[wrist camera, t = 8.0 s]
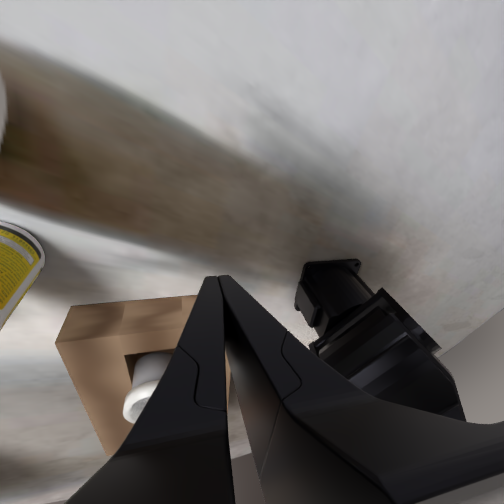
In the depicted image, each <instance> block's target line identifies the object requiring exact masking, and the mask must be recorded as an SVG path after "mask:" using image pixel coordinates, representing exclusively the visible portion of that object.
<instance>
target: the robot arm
mask: <svg viewBox="0 0 504 504" xmlns="http://www.w3.org/2000/svg"><path fill="white" fill-rule="evenodd" d="M360 265H361V262H360V261H359V260H358V259H347V260H332V261H317V262H307V263H306V264H305V265H304V267H303V271H302V275H301V279H300V282H299V283H298V288H297V292H296V296H295V305H294V307H295V309H296V310H297V311H301V312H302V314H303V316H304V318H305V320H306V322H307V323H308V325H309V326H310V327H311V328H313V327H314V328H315V330H316V332H317V334H318V336H319V338H318V339H317V340H316V341H315V342H312V343H310V344H309V348H310V350H309V349H308V348H307V347H306V346H304V345H303V344H302V343H301V342H300V341H299V340H298V339H297V338H295V337H294V336H293V335H292V334H291V333H290V332H289V331H288V332H287V329H286V328H285V327H284V326H283V325H282V324H281V323H279V322H278V321H277V320H276V319H275V318H274V317H273V316H272V315H271V314H270V313H269V312H268V311H267V310H266V309H265V308H264V307H262V306H261V305H260V304H259V303H258V302H257V301H256V300H255V299H254V298H253V297H252V296H251V295H250V294H249V293H248V292H247V291H246V290H244V289H243V288H242V287H241V286H240V285H239V284H238V283H237V282H236V281H235V280H234V279H233V278H232V277H231V276H229V275H221V276H218V277H217V276H207V277H205V279H204V281H203V284H202V286H201V288H200V291H199V293H198V296H197V298H196V300H195V303H194V305H193V307H192V310H191V312H190V314H189V317H188V319H187V322H186V324H185V326H184V329H183V331H182V333H181V336H180V338H179V341H178V343H177V346H176V347H175V350H174V352H173V354H172V357H171V359H170V361H169V363H168V365H167V367H166V370H165V372H164V373H163V375H162V377H161V379H160V381H159V383H158V384H157V386H156V388H155V390H154V391H153V393H152V395H151V396H150V398H149V400H148V402H147V403H146V405H145V407H144V408H143V410H142V412H141V413H140V415H139V417H138V418H137V420H136V422H135V423H134V425H133V427H132V429H131V430H130V432H129V433H128V435H127V437H126V438H125V440H124V441H123V443H122V444H121V446H120V447H119V448H118V450H117V451H116V452H115V454H114V455H113V456H112V457H111V458H110V459H109V461H108V462H107V463H106V464H105V465H104V466H103V467H102V468H100V469H99V470H98V471H97V472H96V473H95V474H94V475H93V476H92V477H91V478H90V479H89V480H88V481H87V482H86V483H85V484H84V485H83V486H82V487H81V488H80V489H79V490H78V491H77V492H76V493H75V494H74V495H73V496H71V497H70V498H69V499H68V500H67V502H65V503H64V504H235V495H234V485H233V476H232V467H231V457H230V448H229V438H228V421H227V391H226V360H225V351H226V355H227V359H228V363H229V366H230V370H231V374H232V378H233V382H234V385H235V389H236V393H237V397H238V401H239V405H240V408H241V412H242V416H243V420H244V424H245V427H246V431H247V435H248V439H249V443H250V446H251V450H252V454H253V458H254V462H255V465H256V469H257V473H258V477H259V479H260V485H261V489H262V493H263V496H264V500H265V504H504V421H502V422H499V423H494V424H476V423H469V422H466V419H465V415H464V412H463V408H462V405H461V402H460V399H459V395H458V391H457V388H456V385H455V381H454V378H453V376H452V374H451V372H450V371H449V370H448V369H447V368H446V367H445V366H444V365H443V364H442V363H441V362H440V360H439V359H438V358H437V357H436V356H435V355H434V354H435V353H436V352H437V351H439V350H440V349H442V348H441V347H440V346H439V345H438V344H437V343H436V342H435V341H434V340H433V339H432V338H431V337H430V336H429V335H428V334H427V333H426V332H425V331H424V330H423V329H422V328H421V326H420V325H419V324H418V323H417V322H416V321H415V320H414V319H413V318H412V317H411V316H410V315H409V314H408V313H407V312H406V311H405V310H404V309H403V308H402V307H401V306H400V305H399V304H398V303H397V302H396V301H395V300H394V299H393V298H392V297H391V296H390V295H389V294H388V293H387V292H386V291H385V290H384V289H383V288H381V289H379V290H378V292H377V293H376V294H374V293H373V292H372V290H371V289H370V288H369V287H368V286H367V285H366V284H365V283H364V282H363V281H362V279H361V278H360V277H359V276H358V275H357V273H358V271H359V268H360ZM309 266H310V267H309ZM308 267H309V268H308Z"/></svg>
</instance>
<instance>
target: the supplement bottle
mask: <svg viewBox="0 0 504 504" xmlns="http://www.w3.org/2000/svg"><path fill="white" fill-rule="evenodd" d="M44 264H45V254H44V251H43V249H42V247H41V245H40V244H39V242H38V241H37V240H36V239H35V238H34V237H33V236H32V235H30V234H29V233H28V232H26V231H25V230H23V229H21V228H19V227H17V226H14V225H12V224H8V223H5V222H0V330H1V329H2V327H3V326H4V324H5V323H6V321H7V320H8V319H9V317H10V315H11V314H12V313H13V311H14V310H15V308H16V307H17V306H18V304H19V303H20V301H21V300H22V298H23V297H24V295H25V294H26V292H27V291H28V290H29V288H30V287H31V285H32V284H33V283H34V281H35V280H36V278H37V277H38V275H39V274H40V272H41V271H42V269H43V267H44Z"/></svg>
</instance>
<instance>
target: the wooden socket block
mask: <svg viewBox="0 0 504 504" xmlns="http://www.w3.org/2000/svg"><path fill="white" fill-rule="evenodd" d="M197 296H198V295H191V296H180V297H168V298H157V299H146V300H135V301H124V302H113V303H102V304H91V305H80V306H71V308H70V310H69V312H68V314H67V317H66V319H65V321H64V323H63V326H62V328H61V330H60V332H59V335H58V337H57V339H56V341H55V345H56V347H57V349H58V351H59V353H60V355H61V358H62V360H63V362H64V364H65V366H66V368H67V371H68V373H69V375H70V377H71V379H72V381H73V384H74V386H75V388H76V390H77V392H78V394H79V397H80V399H81V401H82V403H83V405H84V407H85V410H86V412H87V414H88V416H89V418H90V420H91V423H92V425H93V427H94V429H95V431H96V433H97V436H98V438H99V440H100V442H101V444H102V446H103V449H104V451H105V453H106V455H107V456H109V455H114V454H115V452H116V451H117V450H118V448H119V447H120V446H121V444H122V443H123V441H124V440H125V438H126V437H127V435H128V433H129V432H130V430H131V429H132V427H133V425H134V423H131V422H129V421H127V420H126V419H125V418H124V416H123V408H124V402H125V397H126V395H127V393H128V392H129V391H130V390H131V389H132V382H133V375H134V368H135V364H136V362H137V361H138V360H139V359H140V358H141V357H143V356H145V355H147V354H150V353H155V352H166V353H170V354H173V352H174V350H175V347H176V346H177V343H178V341H179V338H180V336H181V333H182V331H183V329H184V326H185V324H186V322H187V319H188V317H189V314H190V312H191V310H192V307H193V305H194V303H195V300H196V298H197ZM225 360H226V391H227V411H228V399H229V386H230V373H231V370H230V366H229V363H228V359H227V355H226V351H225Z"/></svg>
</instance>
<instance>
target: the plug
mask: <svg viewBox="0 0 504 504" xmlns="http://www.w3.org/2000/svg"><path fill="white" fill-rule="evenodd" d="M171 357H172V354H170V353H166V352H155V353H150V354H147V355H145V356H143V357H141V358H140V359H139V360H138V361H137V362H136V364H135V368H134V375H133V382H132V389H131V390H130V391H129V392H128V393H127V395H126V397H125V402H124V408H123V416H124V418H125V419H126V420H127V421H129V422H131V423H135V422H136V420H137V418H138V417H139V415H140V413H141V412H142V410H143V408H144V407H145V405H146V403H147V402H148V400H149V398H150V396H151V395H152V393H153V391H154V390H155V388H156V386H157V384H158V383H159V381H160V379H161V377H162V375H163V373H164V372H165V370H166V367H167V365H168V363H169V361H170V359H171Z"/></svg>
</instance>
